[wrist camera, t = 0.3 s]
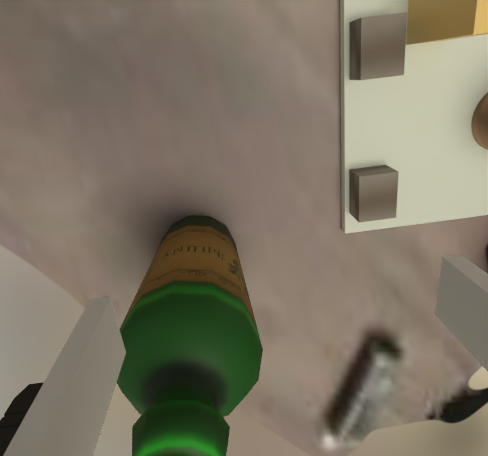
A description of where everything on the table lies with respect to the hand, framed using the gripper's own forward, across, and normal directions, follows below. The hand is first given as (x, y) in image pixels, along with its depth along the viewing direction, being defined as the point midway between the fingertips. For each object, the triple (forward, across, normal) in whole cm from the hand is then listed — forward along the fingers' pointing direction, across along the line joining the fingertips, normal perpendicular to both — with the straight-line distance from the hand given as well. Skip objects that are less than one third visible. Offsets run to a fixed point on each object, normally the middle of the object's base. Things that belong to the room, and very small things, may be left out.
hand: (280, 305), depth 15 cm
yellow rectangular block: (+26, +19, +12) cm, 34 cm away
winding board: (+27, +22, +3) cm, 35 cm away
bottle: (+27, -6, -10) cm, 30 cm away
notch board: (+26, +14, +3) cm, 29 cm away
